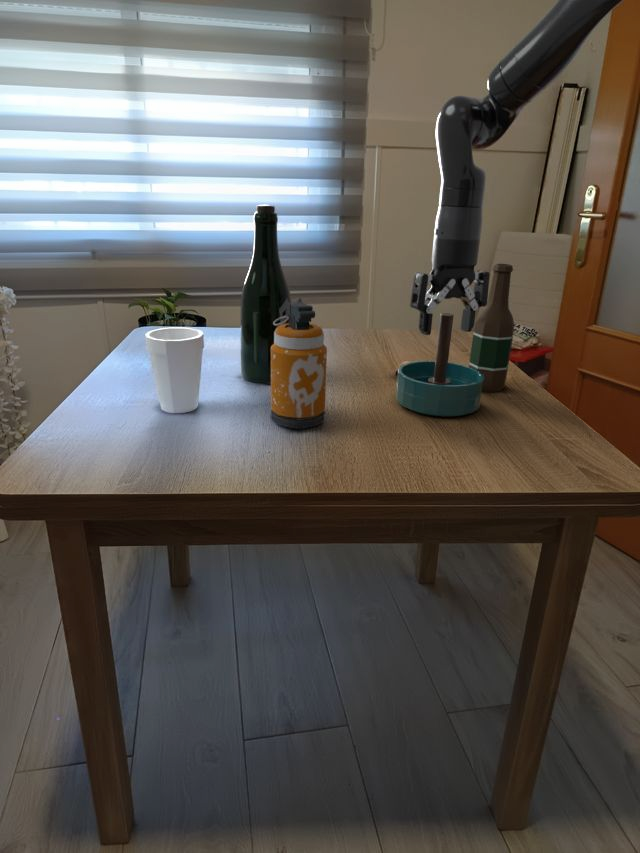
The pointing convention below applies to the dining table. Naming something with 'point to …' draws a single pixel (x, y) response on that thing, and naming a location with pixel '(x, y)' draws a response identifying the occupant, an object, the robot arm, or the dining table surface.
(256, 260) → the green wine bottle
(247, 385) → the dining table surface
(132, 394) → the dining table surface
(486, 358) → the beer bottle
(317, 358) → the canister
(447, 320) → the muddler
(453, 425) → the dining table surface
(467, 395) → the bowl
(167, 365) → the foam cup
